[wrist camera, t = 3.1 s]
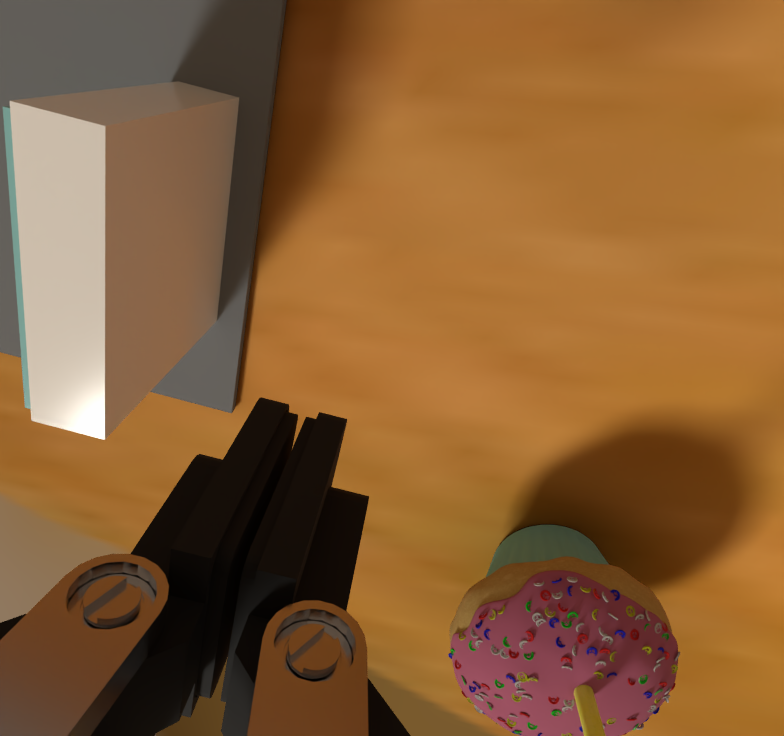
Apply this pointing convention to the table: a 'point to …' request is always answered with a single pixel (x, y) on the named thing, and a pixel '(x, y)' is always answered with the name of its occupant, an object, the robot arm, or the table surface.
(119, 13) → the mat
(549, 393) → the table surface
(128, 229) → the tile
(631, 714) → the cupcake
